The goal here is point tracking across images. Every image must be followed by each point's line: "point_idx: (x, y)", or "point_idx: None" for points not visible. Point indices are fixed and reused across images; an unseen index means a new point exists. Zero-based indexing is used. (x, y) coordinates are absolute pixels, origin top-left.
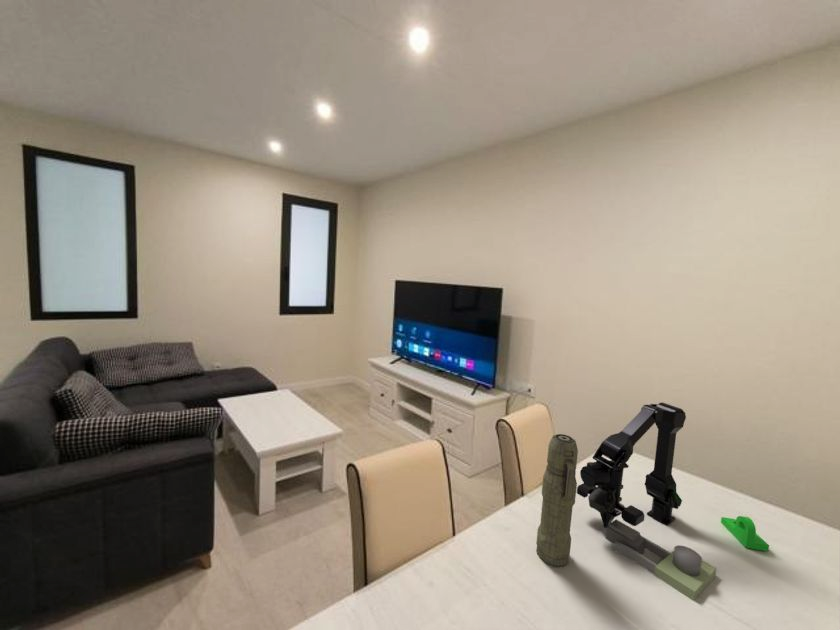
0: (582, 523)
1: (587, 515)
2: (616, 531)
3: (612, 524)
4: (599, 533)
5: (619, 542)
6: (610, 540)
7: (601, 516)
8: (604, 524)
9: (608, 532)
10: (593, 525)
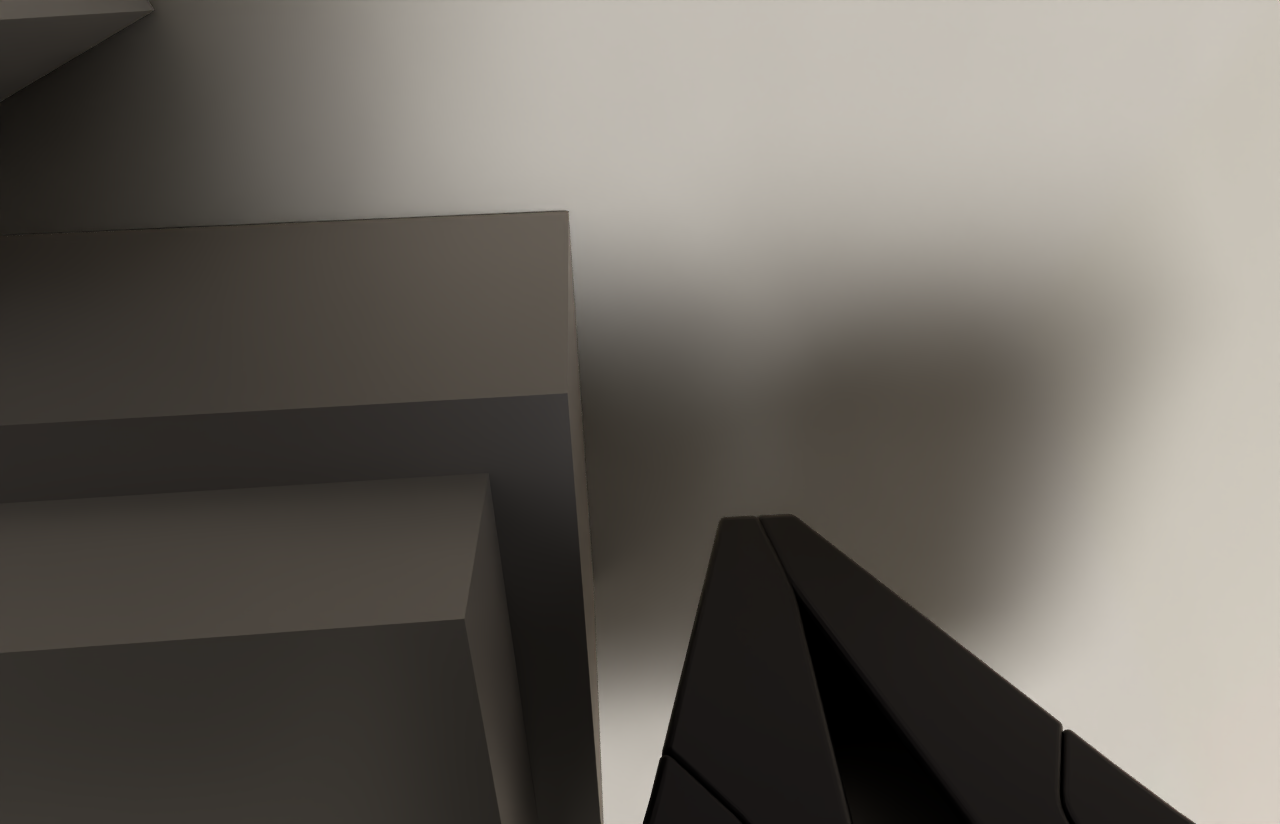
0: (1271, 240)
1: (1223, 600)
2: (105, 503)
3: (326, 689)
4: (786, 287)
5: (62, 287)
6: (402, 229)
7: (1053, 742)
8: (799, 566)
9: (466, 305)
10: (1017, 430)
